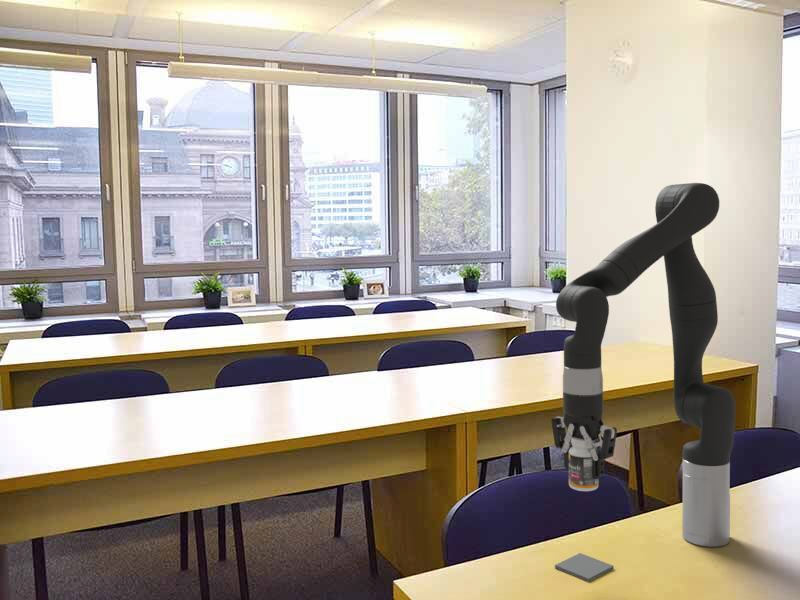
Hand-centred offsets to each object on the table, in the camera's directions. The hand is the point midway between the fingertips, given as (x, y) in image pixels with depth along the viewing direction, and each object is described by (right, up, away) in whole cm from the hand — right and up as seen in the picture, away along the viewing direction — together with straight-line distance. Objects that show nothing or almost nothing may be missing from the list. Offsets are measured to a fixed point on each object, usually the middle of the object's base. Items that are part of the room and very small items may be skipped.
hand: (583, 474), depth 145 cm
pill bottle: (0, -3, 0) cm, 3 cm away
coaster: (+1, -19, +2) cm, 19 cm away
